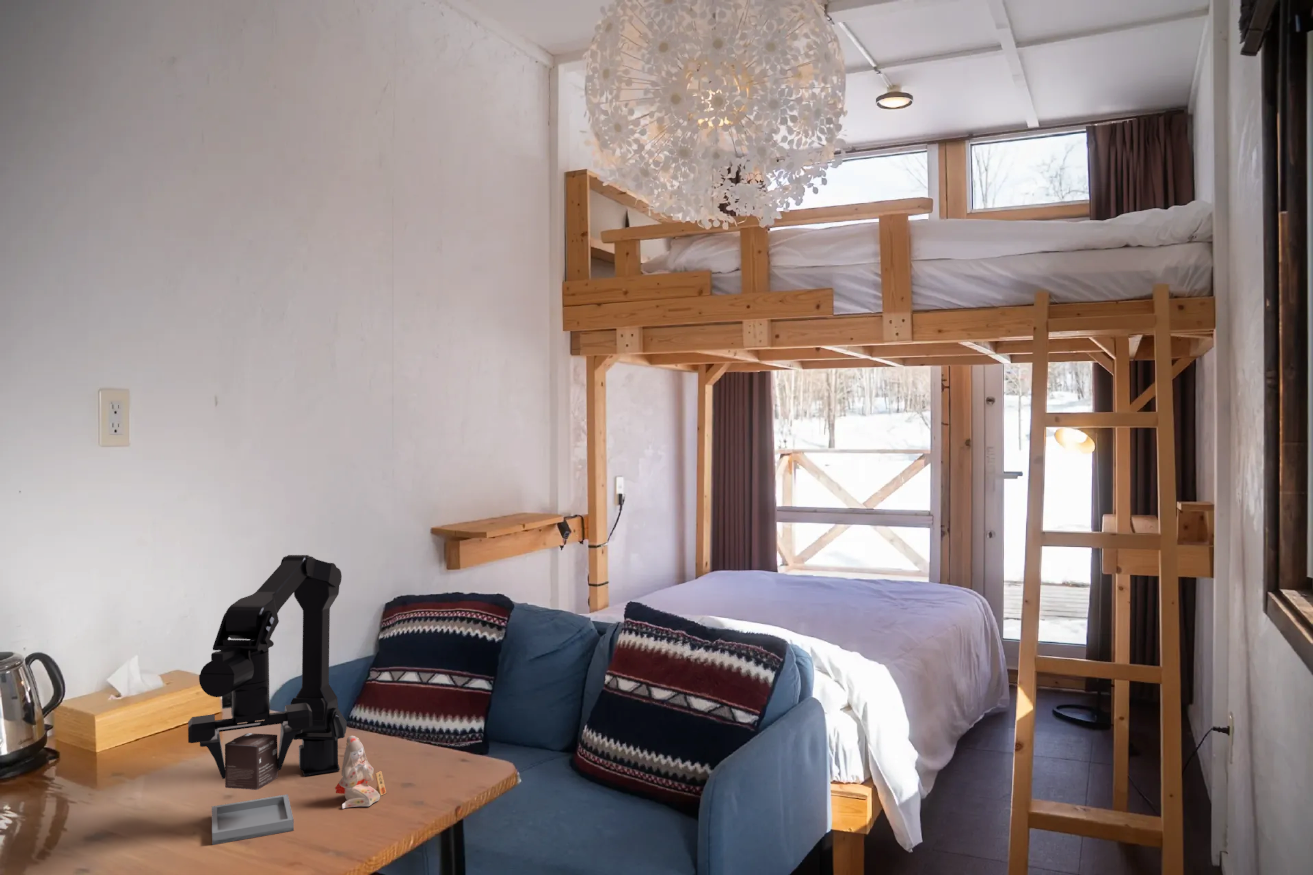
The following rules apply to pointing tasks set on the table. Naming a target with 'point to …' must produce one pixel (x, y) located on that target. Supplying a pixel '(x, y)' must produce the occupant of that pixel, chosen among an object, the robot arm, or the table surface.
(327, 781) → the table surface
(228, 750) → the box
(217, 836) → the tray
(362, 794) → the figurine
